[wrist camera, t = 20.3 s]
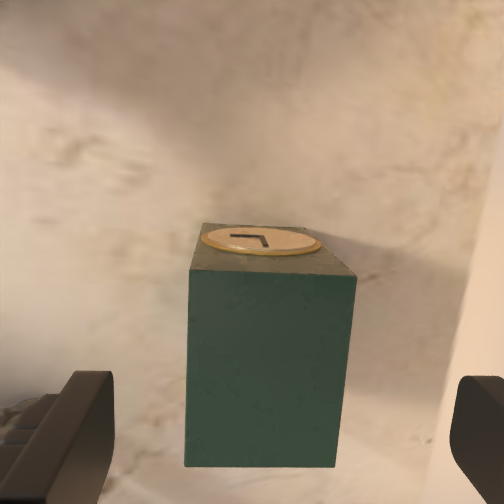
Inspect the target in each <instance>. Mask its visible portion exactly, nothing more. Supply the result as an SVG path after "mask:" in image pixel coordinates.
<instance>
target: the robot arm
mask: <svg viewBox="0 0 504 504" xmlns="http://www.w3.org/2000/svg"><path fill="white" fill-rule="evenodd" d="M114 440H115V422H114V381H113V374H112V372H111V371H75V372H74V373H73V374H72V376H71V377H70V379H69V380H68V382H67V384H66V385H65V387H64V388H63V390H62V391H61V393H60V394H46V395H44V396H43V397H42V398H40V399H39V400H37V401H36V402H34V403H33V404H31V405H30V406H28V407H27V408H25V410H24V411H23V412H22V414H21V415H20V416H19V418H18V419H17V420H16V421H15V423H14V424H13V425H12V429H9V431H8V432H7V433H6V435H5V436H4V437H3V439H2V440H1V443H0V504H97V501H98V499H99V496H100V493H101V490H102V487H103V484H104V481H105V479H106V476H107V473H108V470H109V467H110V464H111V460H112V456H113V449H114ZM450 447H451V452H452V455H453V457H454V459H455V461H456V463H457V464H458V466H459V467H460V468H461V470H462V471H463V473H464V474H465V475H466V477H467V478H468V479H469V480H470V482H471V483H472V484H473V486H474V487H475V488H476V490H477V491H478V492H479V494H480V495H481V496H482V497H483V499H484V500H485V501H486V503H487V504H504V379H503V378H501V377H499V376H464V377H463V378H462V379H461V381H460V382H459V385H458V390H457V397H456V401H455V407H454V413H453V418H452V424H451V430H450Z"/></svg>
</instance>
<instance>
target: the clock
mask: <svg viewBox="0 0 504 504" xmlns="http://www.w3.org/2000/svg"><path fill="white" fill-rule="evenodd" d="M356 284H357V276H356V275H355V274H354V273H353V272H352V271H351V270H350V269H349V268H348V267H346V266H345V265H344V264H343V263H342V262H341V261H340V260H339V259H338V258H337V257H336V256H335V255H334V254H332V253H331V252H330V251H329V250H328V249H327V248H326V247H325V246H324V245H323V244H322V243H321V242H320V241H319V240H317V239H316V238H315V237H314V236H313V235H312V234H311V233H310V232H309V231H308V230H307V229H306V228H294V227H272V226H251V225H229V224H207V223H203V224H202V228H201V231H200V235H199V238H198V242H197V245H196V249H195V252H194V256H193V259H192V263H191V266H190V270H189V296H188V335H187V374H186V414H185V453H184V466H185V467H306V468H334V467H335V463H336V454H337V446H338V437H339V429H340V420H341V411H342V403H343V394H344V386H345V377H346V369H347V360H348V352H349V343H350V335H351V326H352V318H353V309H354V301H355V292H356Z"/></svg>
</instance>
